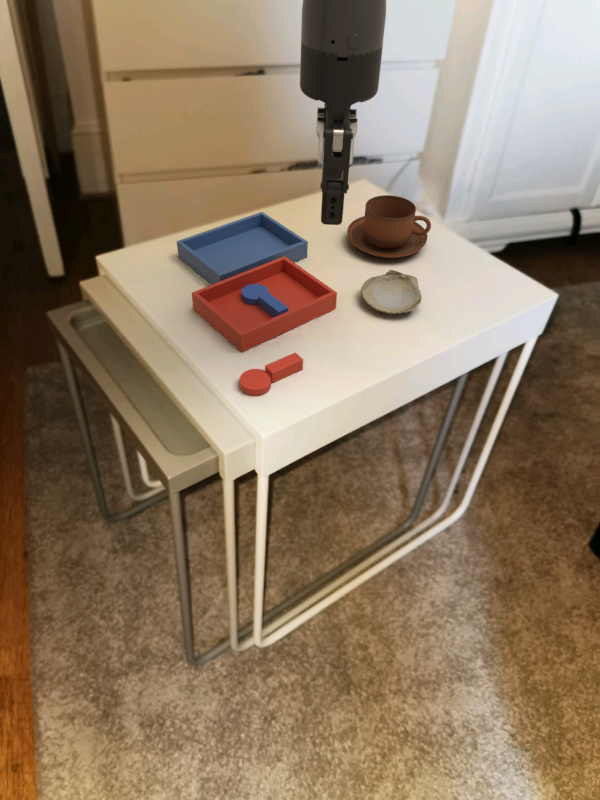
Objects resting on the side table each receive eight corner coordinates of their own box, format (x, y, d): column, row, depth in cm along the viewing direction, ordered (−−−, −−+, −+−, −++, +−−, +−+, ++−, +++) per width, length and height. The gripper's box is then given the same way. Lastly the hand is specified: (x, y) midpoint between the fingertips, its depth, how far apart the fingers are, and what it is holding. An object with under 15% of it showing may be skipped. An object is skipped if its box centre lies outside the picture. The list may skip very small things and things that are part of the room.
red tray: (241, 352, 78) (241, 335, 76) (193, 309, 84) (191, 292, 82) (336, 308, 85) (337, 292, 83) (284, 271, 91) (284, 255, 89)
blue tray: (220, 292, 87) (219, 275, 85) (178, 257, 93) (176, 241, 91) (307, 257, 94) (308, 241, 92) (262, 226, 100) (262, 211, 98)
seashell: (354, 316, 87) (406, 327, 82) (349, 298, 85) (402, 308, 80) (385, 281, 91) (435, 289, 86) (381, 262, 88) (433, 270, 84)
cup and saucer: (414, 223, 102) (420, 187, 98) (434, 263, 94) (442, 225, 89) (340, 226, 101) (343, 189, 97) (354, 267, 92) (357, 228, 88)
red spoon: (250, 400, 72) (250, 389, 71) (233, 382, 74) (233, 372, 73) (308, 374, 75) (308, 363, 74) (290, 357, 77) (290, 347, 76)
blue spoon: (236, 295, 85) (235, 285, 84) (258, 286, 87) (257, 276, 86) (272, 325, 81) (272, 314, 80) (294, 314, 83) (294, 304, 81)
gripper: (303, 16, 63) (298, 174, 75) (298, 59, 53) (294, 235, 64) (378, 19, 63) (363, 177, 75) (388, 63, 53) (368, 238, 64)
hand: (331, 204), depth 69 cm, fingers open, 8 cm apart
